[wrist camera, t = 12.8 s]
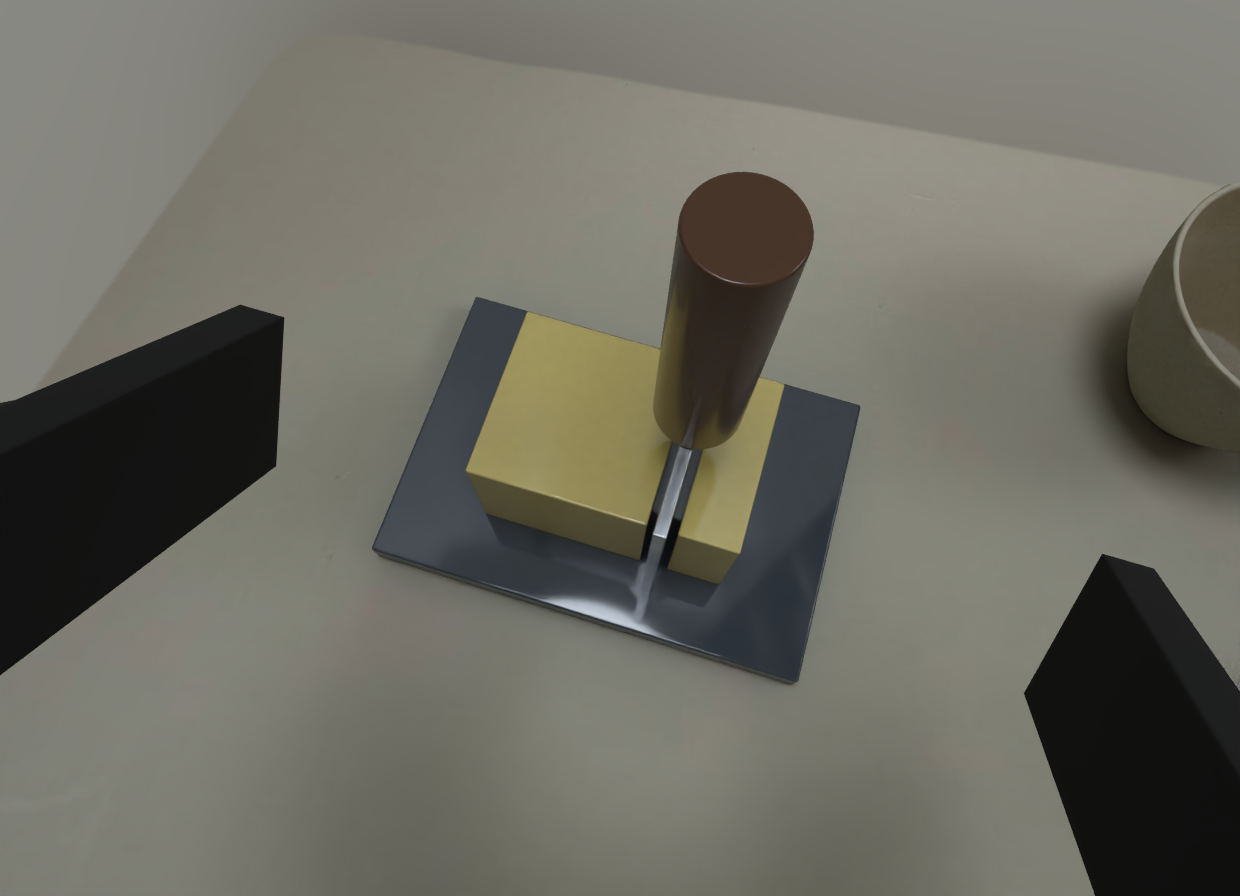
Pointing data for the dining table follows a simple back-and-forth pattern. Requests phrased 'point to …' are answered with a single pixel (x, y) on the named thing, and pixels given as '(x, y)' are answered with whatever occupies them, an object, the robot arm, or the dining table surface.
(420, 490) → the butter dish
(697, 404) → the knife
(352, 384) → the dining table surface
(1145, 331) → the flower pot
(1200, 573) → the dining table surface
